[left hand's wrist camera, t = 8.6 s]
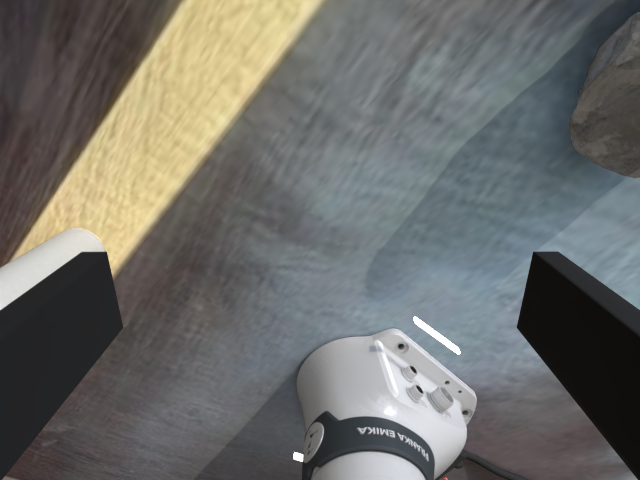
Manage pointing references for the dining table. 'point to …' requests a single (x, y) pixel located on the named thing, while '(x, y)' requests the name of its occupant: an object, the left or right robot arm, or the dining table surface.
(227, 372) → the dining table surface
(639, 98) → the decorative stone
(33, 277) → the jar
